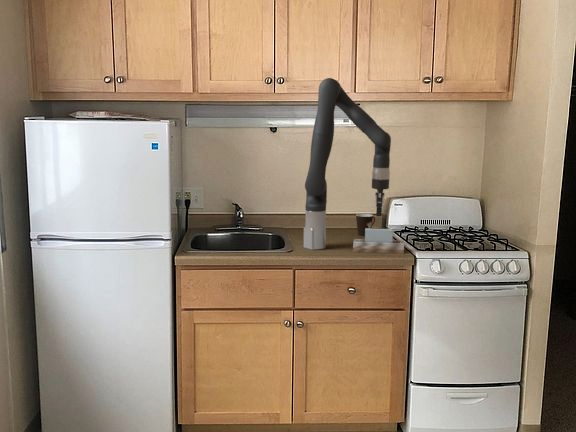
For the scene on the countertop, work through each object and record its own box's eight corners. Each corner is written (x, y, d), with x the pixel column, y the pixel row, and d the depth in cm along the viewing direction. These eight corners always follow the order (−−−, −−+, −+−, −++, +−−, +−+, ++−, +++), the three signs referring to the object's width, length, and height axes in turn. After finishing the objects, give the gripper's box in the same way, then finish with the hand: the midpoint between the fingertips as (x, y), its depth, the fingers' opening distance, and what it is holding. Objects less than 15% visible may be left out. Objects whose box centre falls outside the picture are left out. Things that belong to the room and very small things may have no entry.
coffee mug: (359, 236, 285) (359, 217, 284) (353, 233, 294) (353, 214, 292) (381, 235, 288) (381, 215, 287) (374, 232, 297) (374, 213, 295)
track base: (352, 251, 253) (353, 242, 253) (354, 247, 262) (354, 238, 261) (403, 253, 250) (404, 244, 249) (403, 249, 258) (403, 240, 258)
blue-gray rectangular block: (364, 247, 255) (365, 229, 254) (365, 245, 259) (365, 228, 257) (392, 248, 253) (392, 230, 252) (392, 246, 257) (392, 228, 255)
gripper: (372, 176, 258) (370, 211, 261) (371, 179, 244) (369, 216, 247) (389, 176, 257) (387, 212, 259) (389, 179, 243) (387, 217, 246)
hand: (378, 214), depth 253 cm, fingers open, 8 cm apart
